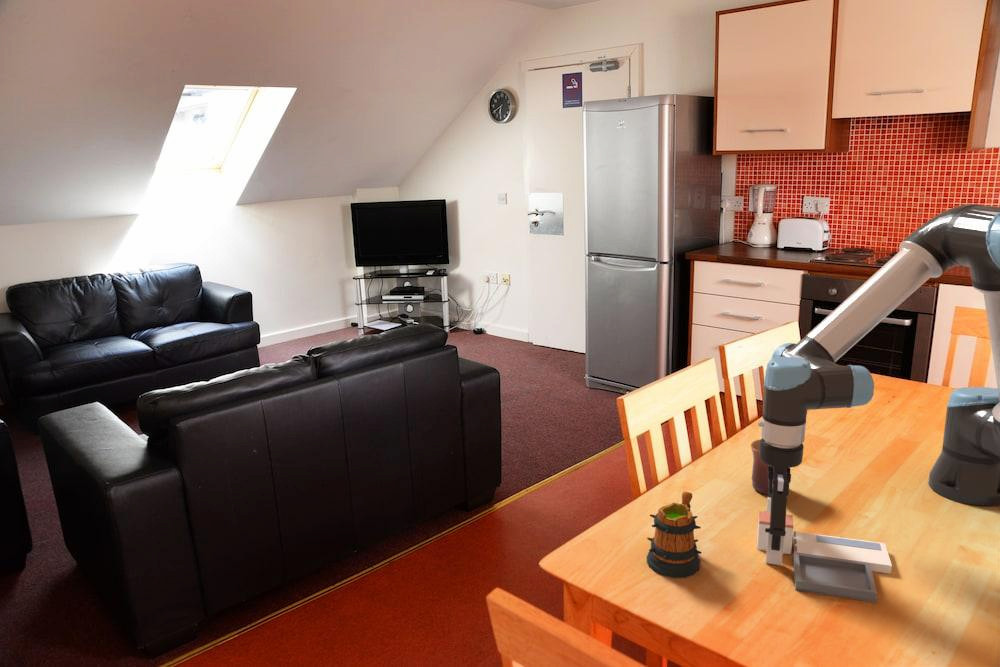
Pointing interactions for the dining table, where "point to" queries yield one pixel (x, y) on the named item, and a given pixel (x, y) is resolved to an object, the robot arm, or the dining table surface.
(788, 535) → the block
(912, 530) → the dining table surface
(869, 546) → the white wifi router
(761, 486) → the mug
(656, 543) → the mug
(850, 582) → the tray
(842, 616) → the dining table surface
